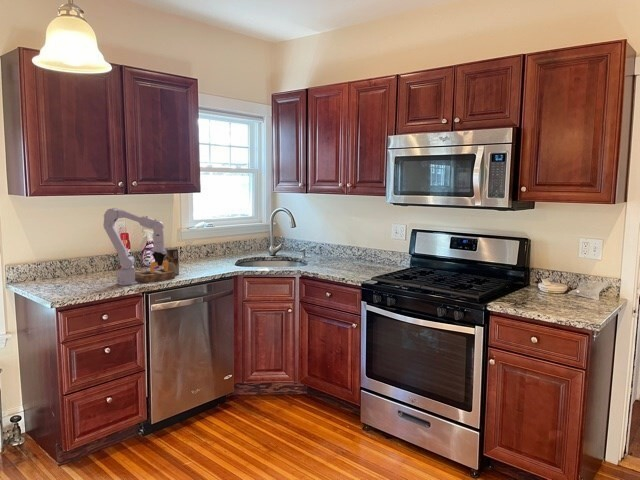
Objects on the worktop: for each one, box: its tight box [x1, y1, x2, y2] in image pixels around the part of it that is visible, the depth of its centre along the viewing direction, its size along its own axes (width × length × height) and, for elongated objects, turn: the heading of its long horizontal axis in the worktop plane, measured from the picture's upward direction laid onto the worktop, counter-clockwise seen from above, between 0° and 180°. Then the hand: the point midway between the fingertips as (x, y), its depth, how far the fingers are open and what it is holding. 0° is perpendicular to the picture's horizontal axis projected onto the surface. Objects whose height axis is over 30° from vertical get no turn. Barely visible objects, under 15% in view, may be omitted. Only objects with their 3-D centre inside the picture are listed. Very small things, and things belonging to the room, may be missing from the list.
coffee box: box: [163, 248, 180, 276], centre depth 301 cm, size 9×6×16 cm
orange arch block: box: [149, 260, 168, 273], centre depth 274 cm, size 10×2×6 cm, turn 137°
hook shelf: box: [135, 268, 176, 284], centre depth 285 cm, size 20×14×5 cm
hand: (159, 265), depth 274 cm, fingers closed on orange arch block, 2 cm apart
